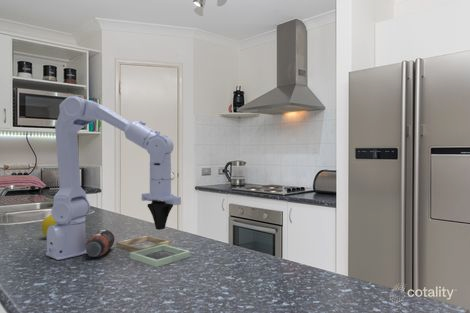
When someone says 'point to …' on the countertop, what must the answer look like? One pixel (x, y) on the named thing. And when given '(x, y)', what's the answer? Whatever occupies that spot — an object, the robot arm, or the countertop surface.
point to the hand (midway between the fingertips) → (160, 228)
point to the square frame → (178, 255)
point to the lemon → (47, 224)
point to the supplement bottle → (99, 243)
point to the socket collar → (127, 246)
